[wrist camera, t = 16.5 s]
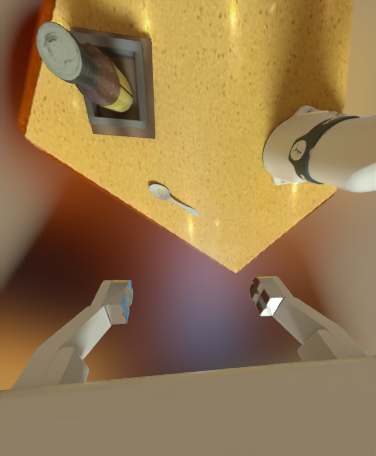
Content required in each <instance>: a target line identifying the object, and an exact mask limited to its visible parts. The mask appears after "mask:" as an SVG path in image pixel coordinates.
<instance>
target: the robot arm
mask: <svg viewBox="0 0 376 456" xmlns="http://www.w3.org/2000/svg"><path fill="white" fill-rule="evenodd" d="M307 112H308V113H307ZM337 113H338V112H336V111H331V112H330V113H329V111H320V110H318V109H315V108H313V107H311V106H309V105H304V106H301V107H300V108H299V109H298V110H297V111H296V112H295V114H294V115H293V116H292V117H291V118H289V119H287V120H286V121H284V122H283V123H281V124H280V125H279V126H278V127H277V128H276V129H275V130H274V131H273V132H272V134H271V135H270V137H269V138H268V140H267V142H266V145H265V148H264V152H263V162H264V166H265V168H266V170H267V171H268V172H269V173H270V175H271V176H272V180H273V183H274V184H277V185H280V184H287V183H293V184H298V183H302V182H310V183H314V184H315V183H316V184H327V185H330V186H334V187H337V188H341V189H344V190H347V191H351V192H369V191H374V190H376V115H375V116H369V117H361V118H360V117H357V116H350V115H348V114H338V115H337ZM336 115H337V116H336ZM281 180H282V181H281ZM249 290H250V296H251V298H252V300H254V301H255V302H256V305H255V306H256V308H257V310H258V312H259V314H260V316H273V317H274V318H275V319H276V320H277V321H278V322H279V323H280V324H282V325H283V327H284V328H286V329H287V330H288V331H289V332H290V333H291V334H292V335H293V336H294V337H295V338H296V339H297V340H298V341H299V342H300V343H301V344H302V346H301V347H300V348H299V349H298V354H299V355H300V357H301V359H302V360H303V362H296V363H286V364H275V365H265V366H254V367H244V368H232V369H222V370H211V371H201V372H191V373H179V374H169V375H159V376H148V377H137V378H127V379H116V380H105V381H95V382H85V380H86V378H87V375H88V372H89V369H88V367H87V365H86V364H85V363H84V361H83V359H84V358H85V356H86V355H87V354H88V353H89V352H90V350H91V349H92V348H93V347H94V345H95V344H96V343H97V342H98V340H99V339H100V338H101V337H102V336H103V335H104V333H105V332H106V331H107V330H108V329H109V327H110V326H111V324H122V323H126V322H127V319H128V315H129V308H128V307H129V306H130V305H131V303H132V297H133V290H132V288H131V281H130V280H113V281H112V280H105V281H103V283H102V284H101V286H100V288H99V290H98V292H97V294H96V296H95V298H94V300H93V303H92V304H91V306H89V307H87V308H85V309H84V310H83V311H82V312H81V313H79V314H78V315H77V316H76V317H74V318H73V319H72V320H71V321H70V322H69V323H67V324H66V325H65V326H64V327H63V328H61V329H60V330H59V331H58V332H57V333H55V334H54V335H53V336H52V337H50V338H49V339H48V340H47V341H46V342H44V343H43V344H42V345H41V346H39V348H38V349H37V350H36V351H35V353H34V354H33V356H32V358H31V359H30V361H29V362H28V364H27V365H26V367H25V368H24V370H23V371H22V373H21V375H20V376H19V378H18V379H17V381H16V382H15V384H14V385H13V387H12V388H11V389H10V390H0V456H376V355H371V356H366V355H365V354H364V352H363V351H362V350H361V349H360V348H359V347H358V346H357V344H356V343H355V342H354V341H353V340H352V339H351V338H350V337H349V336H348V335H347V333H346V332H345V331H344V330H343V329H342V328H341V327H340V326H338V325H336V324H335V323H334V322H332V321H331V320H329V319H328V318H326V317H325V316H323V315H321V314H320V313H318V312H317V311H315V310H314V309H312V308H311V307H309V306H308V305H306V304H304V303H303V302H302V301H300V300H299V299H297V298H294V297H293V296H292V295H291V293H290V292H289V291H288V289H287V288H286V287H285V286H284V284H283V283H282V282H281V280H280V279H279V278H278V277H255V278H254V279H253V284H252V285H251V286H250V288H249Z"/></svg>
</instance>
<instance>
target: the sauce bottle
mask: <svg viewBox="0 0 376 456" xmlns="http://www.w3.org/2000/svg"><path fill="white" fill-rule="evenodd" d="M36 39H37V48H38V51H39V54H40V56H41V58H42V60H43V61H44V63H45V65H46V66H47V68H48V69H49V70H50V71H51V72H52V73H53V74H55V75H56V76H57V77H59V78H61V79H62V80H64V81H66V82H68V83H72V84H75V85H76V87H77V88H78V89H79V91H80V92H81V93H82V94H83V95H84V96H85V97H86V98H87V99H89V100H90V101H92V102H94V103H96V104H98V105H100V106H103V107H105V108H108V109H111V110H114V111H117V112H124V111H127V110H129V109H130V108H131V106H132V103H133V99H134V95H133V91H132V88H131V85H130V83H129V81H128V80H127V79H126V78H125V76H124V75H123V74H122V73H121V72H120V71H119V70H118V69H117V67H116V66H115V65H114V64H113V63H112V62H111V61H110V60H109V58H108V57H106V56H105V55H104V54H103V53H102V52H101V51H100V50H99V49H97V48H96V47H94V46H93V45H91V44H90V43H89V42H87V43H85V44H81V45H80V43H79V42H78V40H77V39H76V38H75V37H74V35H73V34H72V33H70V32H69V31H68V30H67V29H65V28H64V27H63V26H61V25H60V24H57V23H55V22H45V23H43V24H42V25H41V26H40V28H39V30H38V32H37V37H36Z"/></svg>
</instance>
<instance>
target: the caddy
mask: <svg viewBox="0 0 376 456" xmlns="http://www.w3.org/2000/svg"><path fill="white" fill-rule="evenodd" d="M70 29H71V31H70V33H72V34H73V35H74V37H75V38H76V39H77V40H78V42H79V43H80V45H81V44H85V43H87V42H89V43H90V44H91V45H93V46H94V47H96V48H97V49H99V50H100V51H101V52H102V53H103V54H104V55H105V56H106V57H108V58H109V60H110V61H111V62H112V63H113V64H114V65H115V66H116V67H117V69H118V70H119V71H120V72H121V73H122V74H123V75H124V76H125V78H126V79H127V80H128V81H129V83H130V85H131V88H132V91H133V95H134V99H133V103H132V106H131V108H130V109H129V110H127V111H124V112H117V111H114V110H111V109H108V108H105V107H103V106H100V105H98V104H96V103H94V102H92V101H90V100H89V99H87V98H86V97H85V96H84V100H85V104H86V109H87V113H88V118H89V122H90V124H91V127H92V131H93V134H102V135H115V136H127V137H139V138H152V139H155V119H154V92H153V64H152V42H151V39H147V38H141V37H134V36H128V35H121V34H115V33H108V32H102V31H95V30H89V29H82V28H75V27H70Z"/></svg>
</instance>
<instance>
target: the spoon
mask: <svg viewBox="0 0 376 456" xmlns="http://www.w3.org/2000/svg"><path fill="white" fill-rule="evenodd" d="M149 189H150V192H151V193H152V194H153V195H154V196H155V197H157V198H158V199H161V200H170V201H172V202H174V203H176V204H178V205H179V206H181V207H183V208H184V209H185V210H187V211H188V212H190V213H191V214H193V215H195V216H199V215H200V214H199V212H198V211H197V210H195V209H193V208H191V207H188V206H186V205H183V204H181V203H179V202H177V201H175V200H174V199H172V198H171V196H170V192H169V190H168V189H167V188H166V187H165V186H163V185H160V184H152V185H150V186H149ZM159 189H161V190H163V193H162V194H159V193H158V190H159Z"/></svg>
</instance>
